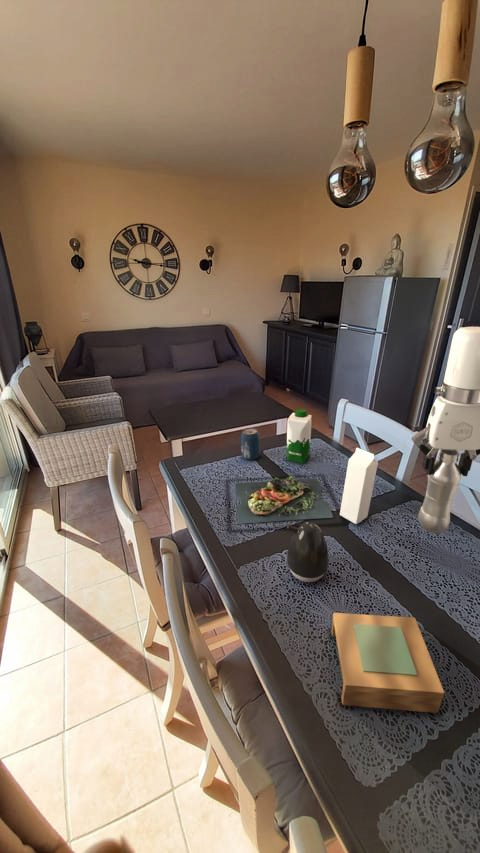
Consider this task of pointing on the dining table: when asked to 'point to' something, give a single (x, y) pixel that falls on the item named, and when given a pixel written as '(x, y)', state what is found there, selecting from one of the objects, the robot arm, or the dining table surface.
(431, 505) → the silver metal bottle
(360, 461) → the milk
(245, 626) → the dining table surface
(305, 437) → the milk carton
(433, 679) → the wooden block
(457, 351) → the robot arm
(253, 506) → the plated dish
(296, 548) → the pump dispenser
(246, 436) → the soda can
